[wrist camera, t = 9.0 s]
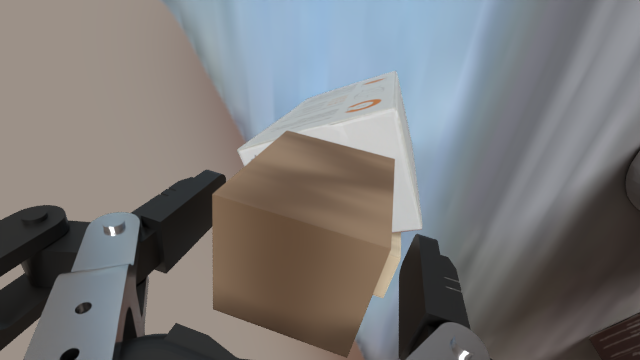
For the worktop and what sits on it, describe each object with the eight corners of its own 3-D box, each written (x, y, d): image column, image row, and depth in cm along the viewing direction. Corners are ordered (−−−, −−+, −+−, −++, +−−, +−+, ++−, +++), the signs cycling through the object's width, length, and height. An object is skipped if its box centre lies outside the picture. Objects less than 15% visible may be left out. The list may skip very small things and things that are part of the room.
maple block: (400, 217, 29) (400, 258, 23) (385, 254, 31) (382, 298, 26) (352, 203, 29) (341, 239, 24) (341, 240, 32) (330, 280, 26)
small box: (327, 162, 28) (278, 249, 17) (305, 97, 25) (231, 148, 14) (413, 142, 25) (425, 232, 14) (398, 68, 23) (396, 103, 11)
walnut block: (395, 159, 12) (391, 248, 7) (365, 244, 15) (347, 357, 10) (286, 130, 13) (212, 194, 8) (275, 217, 16) (213, 309, 10)
